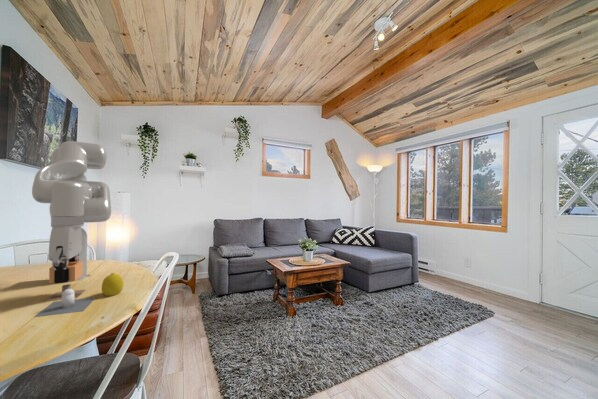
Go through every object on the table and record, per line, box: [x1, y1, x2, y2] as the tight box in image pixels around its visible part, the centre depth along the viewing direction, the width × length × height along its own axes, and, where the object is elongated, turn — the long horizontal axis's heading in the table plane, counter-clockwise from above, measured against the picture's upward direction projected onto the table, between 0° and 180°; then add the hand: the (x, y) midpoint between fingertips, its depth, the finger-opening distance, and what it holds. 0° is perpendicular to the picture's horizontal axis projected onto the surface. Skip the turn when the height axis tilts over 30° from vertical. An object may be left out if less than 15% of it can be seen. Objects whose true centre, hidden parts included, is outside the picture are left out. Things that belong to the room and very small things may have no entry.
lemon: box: [101, 272, 124, 297], centre depth 79 cm, size 6×6×8 cm
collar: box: [48, 261, 83, 284], centre depth 78 cm, size 6×6×4 cm
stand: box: [43, 284, 86, 303], centre depth 77 cm, size 8×8×4 cm
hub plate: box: [33, 288, 97, 318], centre depth 70 cm, size 10×10×6 cm
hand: (66, 278), depth 78 cm, fingers closed on collar, 6 cm apart
